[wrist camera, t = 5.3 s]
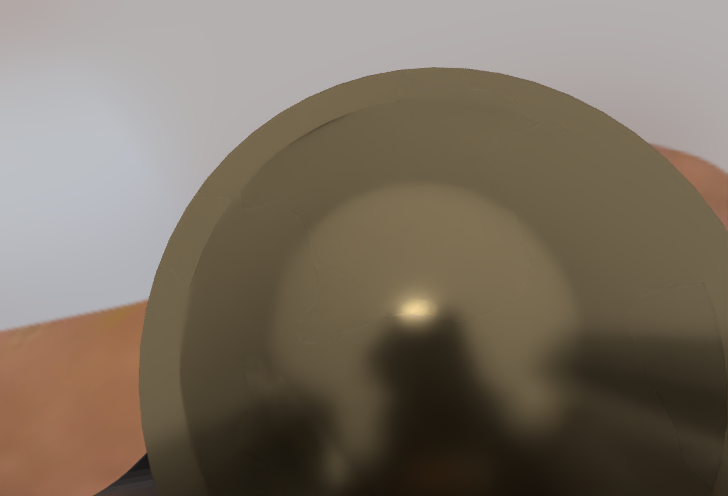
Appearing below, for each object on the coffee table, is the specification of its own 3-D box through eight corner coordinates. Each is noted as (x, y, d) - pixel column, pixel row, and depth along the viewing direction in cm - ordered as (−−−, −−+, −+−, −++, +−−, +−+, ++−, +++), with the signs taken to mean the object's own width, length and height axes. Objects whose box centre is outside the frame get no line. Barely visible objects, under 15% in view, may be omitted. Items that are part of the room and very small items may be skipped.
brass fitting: (478, 307, 15) (881, 230, 3) (418, 410, 14) (599, 992, 2) (381, 248, 16) (349, -2, 4) (321, 340, 16) (24, 411, 3)
